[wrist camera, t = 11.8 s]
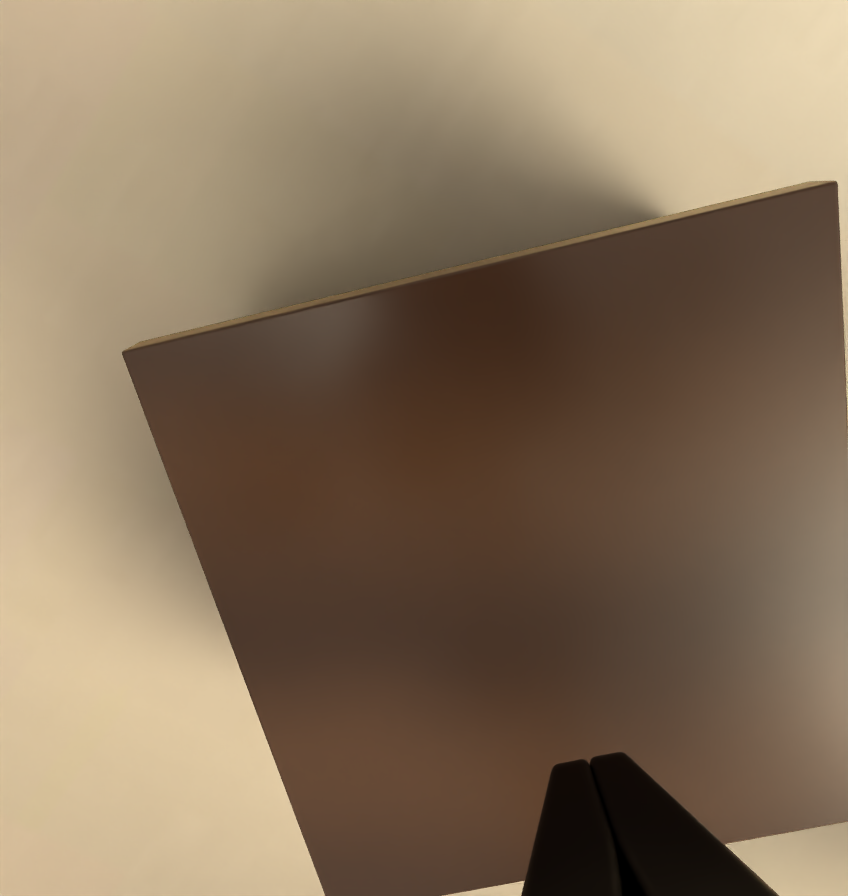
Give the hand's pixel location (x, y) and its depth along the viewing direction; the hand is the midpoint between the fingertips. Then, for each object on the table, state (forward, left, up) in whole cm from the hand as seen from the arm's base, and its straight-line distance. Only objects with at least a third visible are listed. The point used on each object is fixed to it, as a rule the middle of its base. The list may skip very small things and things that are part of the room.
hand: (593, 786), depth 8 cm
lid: (0, 0, -5) cm, 5 cm away
